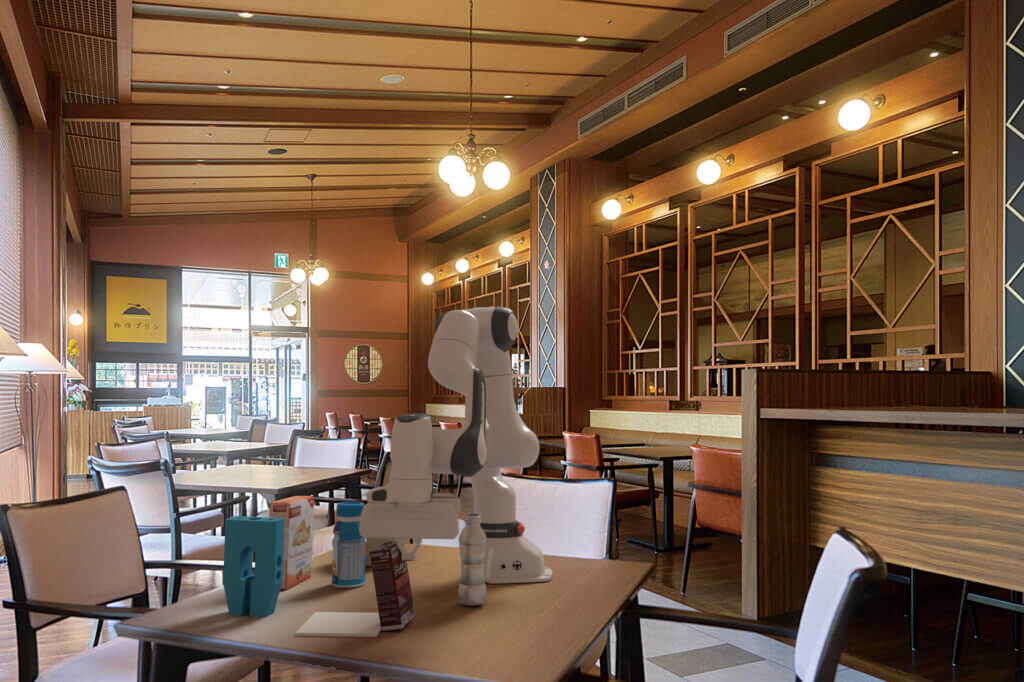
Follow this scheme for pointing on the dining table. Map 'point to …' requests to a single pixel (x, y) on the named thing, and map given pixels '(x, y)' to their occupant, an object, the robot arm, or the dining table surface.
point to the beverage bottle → (348, 547)
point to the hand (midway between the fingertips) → (408, 560)
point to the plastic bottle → (472, 562)
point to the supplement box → (392, 586)
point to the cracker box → (295, 537)
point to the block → (238, 579)
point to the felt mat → (341, 624)
